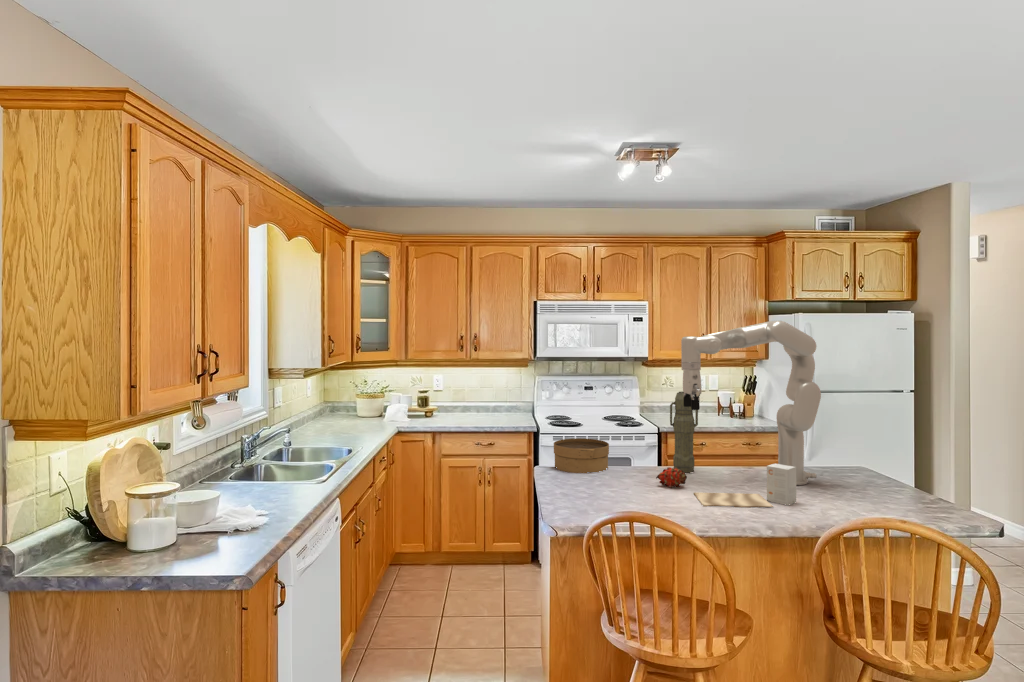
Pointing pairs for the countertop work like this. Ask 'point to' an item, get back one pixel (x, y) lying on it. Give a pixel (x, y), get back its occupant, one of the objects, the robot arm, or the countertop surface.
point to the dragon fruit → (672, 477)
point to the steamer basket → (581, 455)
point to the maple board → (732, 499)
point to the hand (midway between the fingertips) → (691, 408)
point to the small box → (781, 484)
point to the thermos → (683, 434)
